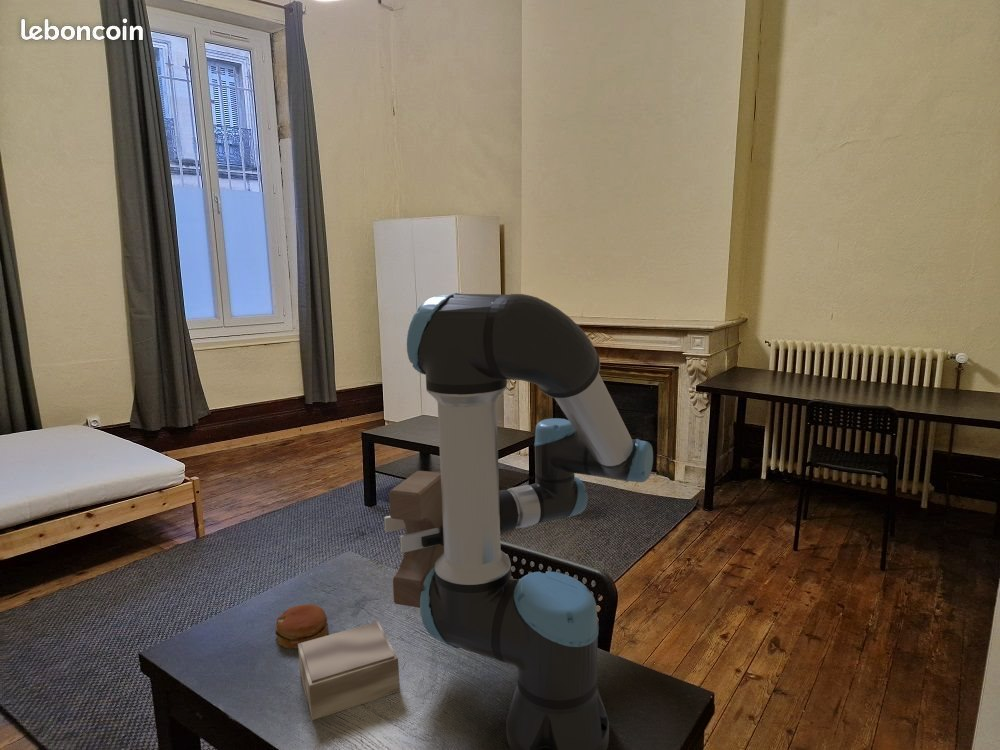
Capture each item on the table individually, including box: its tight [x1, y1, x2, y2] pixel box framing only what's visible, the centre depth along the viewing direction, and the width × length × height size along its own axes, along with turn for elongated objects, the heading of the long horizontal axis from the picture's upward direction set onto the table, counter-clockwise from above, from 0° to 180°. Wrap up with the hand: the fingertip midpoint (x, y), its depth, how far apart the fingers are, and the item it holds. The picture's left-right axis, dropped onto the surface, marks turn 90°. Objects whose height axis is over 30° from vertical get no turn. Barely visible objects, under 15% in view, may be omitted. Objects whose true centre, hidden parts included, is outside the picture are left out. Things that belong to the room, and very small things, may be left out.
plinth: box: [297, 621, 401, 721], centre depth 103 cm, size 12×14×6 cm
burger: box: [274, 604, 329, 650], centre depth 117 cm, size 10×9×5 cm
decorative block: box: [388, 470, 444, 609], centre depth 105 cm, size 11×6×20 cm, turn 161°
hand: (393, 534), depth 104 cm, fingers closed on decorative block, 8 cm apart
